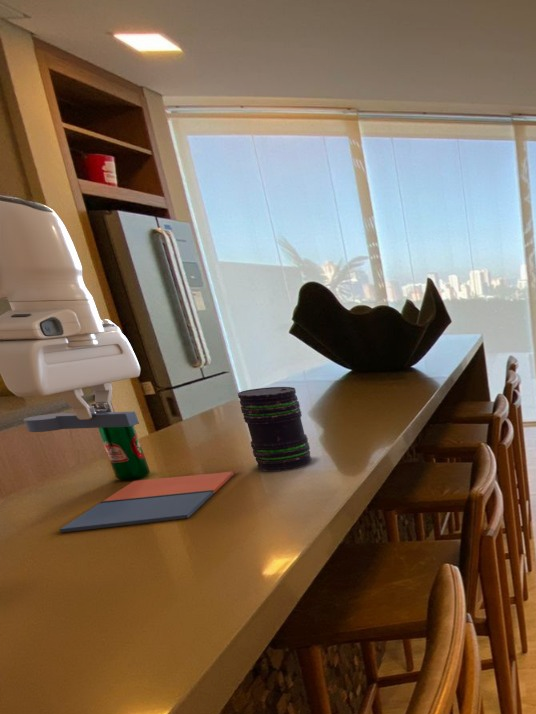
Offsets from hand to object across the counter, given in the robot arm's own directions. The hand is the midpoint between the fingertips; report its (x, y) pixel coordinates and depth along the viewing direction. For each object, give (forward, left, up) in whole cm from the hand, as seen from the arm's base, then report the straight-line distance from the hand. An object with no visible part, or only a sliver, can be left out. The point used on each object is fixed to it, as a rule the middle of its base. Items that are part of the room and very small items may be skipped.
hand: (96, 416), depth 87 cm
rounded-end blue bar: (-2, +1, -2) cm, 3 cm away
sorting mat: (+3, +3, -15) cm, 16 cm away
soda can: (-7, +20, -16) cm, 27 cm away
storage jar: (+19, +19, -16) cm, 31 cm away
